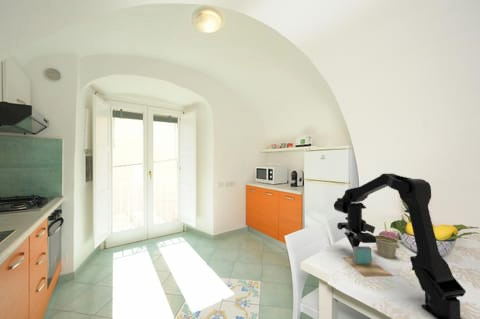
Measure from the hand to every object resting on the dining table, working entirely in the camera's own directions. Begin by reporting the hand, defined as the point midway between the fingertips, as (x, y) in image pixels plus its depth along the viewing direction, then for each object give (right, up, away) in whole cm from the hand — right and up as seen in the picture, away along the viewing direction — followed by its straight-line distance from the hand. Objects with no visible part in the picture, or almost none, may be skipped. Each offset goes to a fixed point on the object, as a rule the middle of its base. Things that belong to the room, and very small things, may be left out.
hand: (355, 250), depth 84 cm
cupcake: (+29, -5, +16) cm, 34 cm away
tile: (0, -3, -5) cm, 6 cm away
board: (0, -4, -7) cm, 8 cm away
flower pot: (+17, -5, +3) cm, 18 cm away
